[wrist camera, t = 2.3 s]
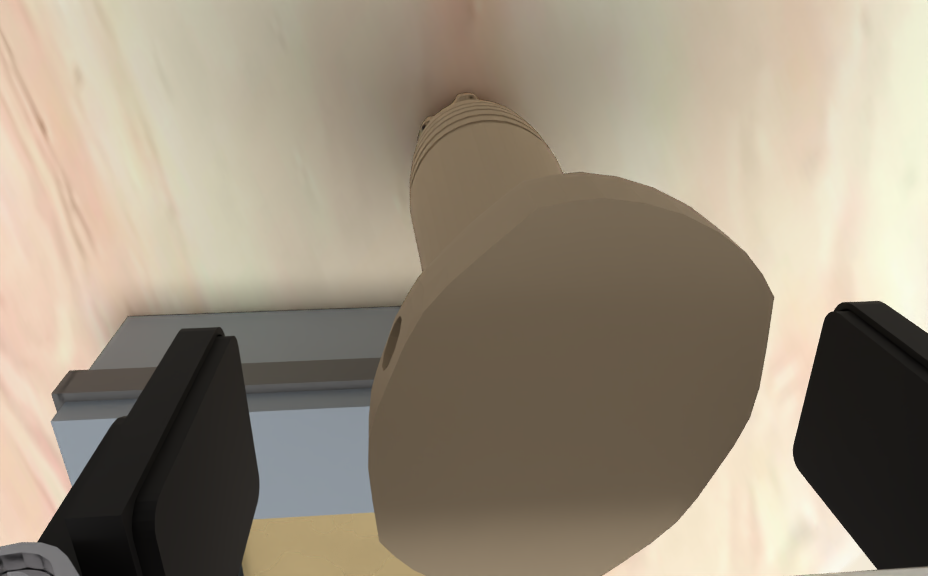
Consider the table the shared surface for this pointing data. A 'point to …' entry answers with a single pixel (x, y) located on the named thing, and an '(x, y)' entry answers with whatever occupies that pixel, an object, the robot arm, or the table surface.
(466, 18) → the table surface
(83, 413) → the collar block
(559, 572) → the handle
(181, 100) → the table surface
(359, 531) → the plate
